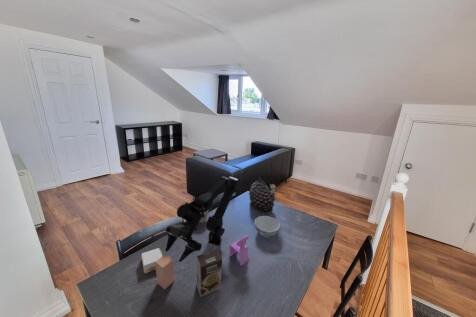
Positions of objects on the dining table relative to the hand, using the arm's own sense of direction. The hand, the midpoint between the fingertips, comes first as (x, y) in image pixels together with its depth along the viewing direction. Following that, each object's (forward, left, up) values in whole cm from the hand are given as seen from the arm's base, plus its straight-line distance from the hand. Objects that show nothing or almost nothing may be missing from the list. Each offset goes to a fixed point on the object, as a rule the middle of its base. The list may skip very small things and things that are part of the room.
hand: (172, 256), depth 88 cm
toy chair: (-27, -17, -11) cm, 34 cm away
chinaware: (-40, -39, -11) cm, 57 cm away
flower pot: (+2, -42, -11) cm, 44 cm away
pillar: (+2, +4, -11) cm, 12 cm away
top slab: (+13, -4, -9) cm, 16 cm away
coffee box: (-17, +2, -11) cm, 21 cm away
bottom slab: (+13, -4, -12) cm, 18 cm away
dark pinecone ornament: (-35, -65, -11) cm, 75 cm away
